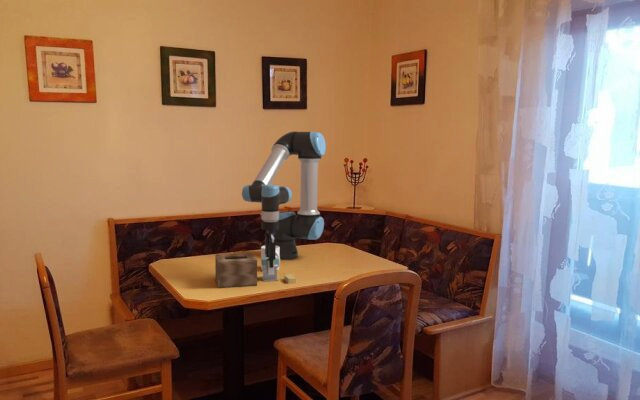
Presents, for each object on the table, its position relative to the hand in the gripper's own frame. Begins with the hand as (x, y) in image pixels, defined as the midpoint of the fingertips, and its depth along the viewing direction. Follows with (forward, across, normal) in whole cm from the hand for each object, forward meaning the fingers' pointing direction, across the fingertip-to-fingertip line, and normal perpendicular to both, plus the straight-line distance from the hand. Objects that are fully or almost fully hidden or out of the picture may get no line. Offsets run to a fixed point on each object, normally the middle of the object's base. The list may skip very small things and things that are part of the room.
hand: (270, 273), depth 226 cm
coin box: (+2, +3, -15) cm, 16 cm away
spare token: (+3, +5, +8) cm, 10 cm away
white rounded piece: (+3, -15, +4) cm, 15 cm away
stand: (+3, 0, 0) cm, 3 cm away
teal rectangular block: (-4, 0, 0) cm, 4 cm away
